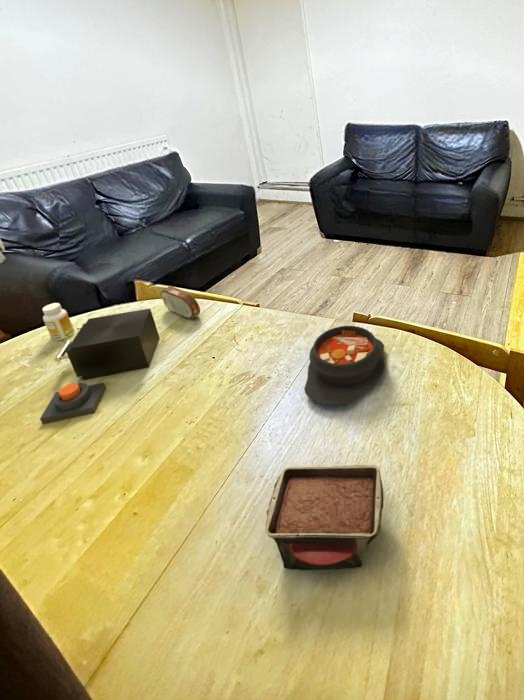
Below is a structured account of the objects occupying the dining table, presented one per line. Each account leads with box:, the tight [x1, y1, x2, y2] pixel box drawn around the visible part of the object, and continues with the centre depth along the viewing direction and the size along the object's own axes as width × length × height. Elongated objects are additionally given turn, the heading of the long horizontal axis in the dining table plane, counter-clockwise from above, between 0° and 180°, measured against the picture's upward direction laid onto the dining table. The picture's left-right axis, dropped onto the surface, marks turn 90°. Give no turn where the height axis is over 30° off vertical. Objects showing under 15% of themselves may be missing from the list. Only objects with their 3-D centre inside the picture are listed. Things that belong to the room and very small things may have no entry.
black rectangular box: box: [69, 308, 160, 382], centre depth 106 cm, size 15×13×10 cm
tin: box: [160, 285, 201, 320], centre depth 124 cm, size 15×3×8 cm, turn 59°
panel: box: [39, 382, 107, 425], centre depth 93 cm, size 10×8×4 cm
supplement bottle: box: [41, 302, 75, 341], centre depth 116 cm, size 5×5×10 cm
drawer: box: [54, 323, 86, 378], centre depth 105 cm, size 18×12×8 cm, turn 106°
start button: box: [58, 382, 81, 401], centre depth 92 cm, size 4×4×2 cm
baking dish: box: [264, 464, 384, 571], centre depth 65 cm, size 14×18×10 cm
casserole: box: [303, 325, 386, 406], centre depth 98 cm, size 25×19×8 cm
